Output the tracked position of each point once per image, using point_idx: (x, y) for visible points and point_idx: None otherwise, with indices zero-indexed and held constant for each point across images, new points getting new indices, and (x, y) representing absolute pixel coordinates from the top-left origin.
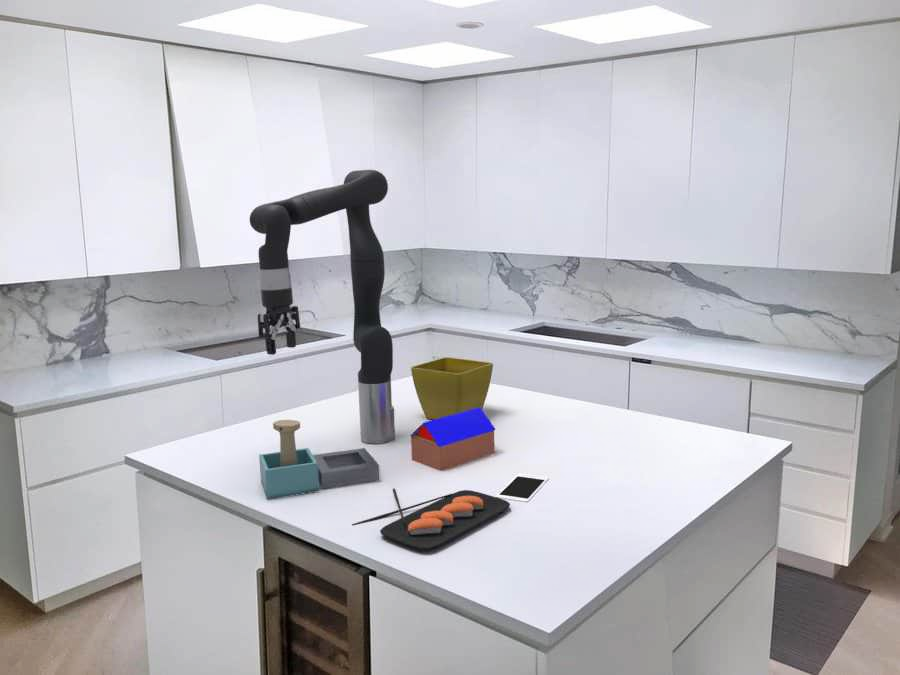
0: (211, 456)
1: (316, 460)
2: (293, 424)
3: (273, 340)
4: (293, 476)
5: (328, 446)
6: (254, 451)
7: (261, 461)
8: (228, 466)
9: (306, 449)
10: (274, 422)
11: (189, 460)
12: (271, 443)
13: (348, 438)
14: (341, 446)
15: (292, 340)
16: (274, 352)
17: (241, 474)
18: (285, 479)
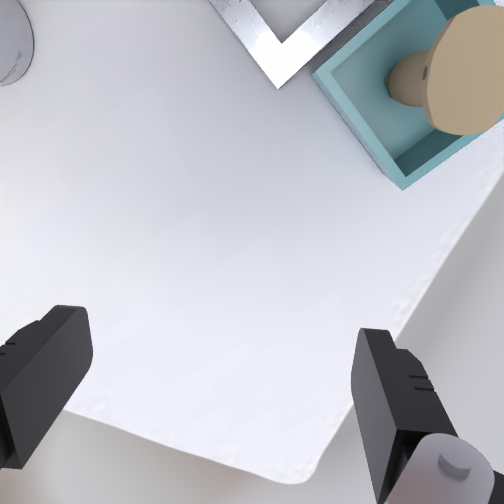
0: (258, 363)
1: (315, 43)
2: (497, 25)
3: (425, 426)
4: None
5: (101, 145)
6: (201, 298)
7: (455, 152)
8: (305, 299)
9: (330, 69)
10: (471, 131)
11: (292, 388)
12: (140, 291)
13: (23, 124)
14: (86, 108)
15: (52, 352)
16: (389, 334)
17: (345, 246)
18: None
